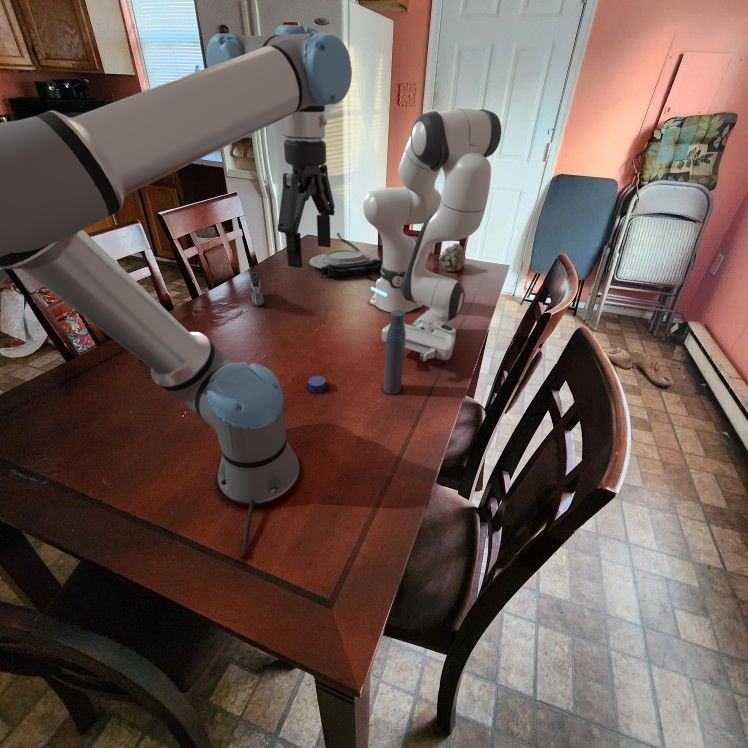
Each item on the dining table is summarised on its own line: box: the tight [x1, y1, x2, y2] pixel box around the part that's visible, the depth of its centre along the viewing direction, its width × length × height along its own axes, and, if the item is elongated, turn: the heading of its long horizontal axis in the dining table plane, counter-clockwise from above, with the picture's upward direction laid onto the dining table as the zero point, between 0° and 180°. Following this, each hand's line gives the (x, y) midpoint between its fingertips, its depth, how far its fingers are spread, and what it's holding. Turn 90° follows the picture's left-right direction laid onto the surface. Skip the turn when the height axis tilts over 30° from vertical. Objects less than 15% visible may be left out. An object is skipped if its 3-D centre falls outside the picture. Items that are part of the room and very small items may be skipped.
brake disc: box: [309, 249, 383, 278], centre depth 176 cm, size 32×30×5 cm
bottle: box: [382, 310, 406, 395], centre depth 100 cm, size 4×4×22 cm
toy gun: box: [249, 271, 264, 307], centre depth 140 cm, size 4×19×10 cm
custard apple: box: [438, 243, 466, 273], centre depth 178 cm, size 11×11×15 cm
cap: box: [307, 375, 327, 394], centre depth 105 cm, size 4×4×2 cm
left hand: (310, 255), depth 86 cm, fingers open, 13 cm apart
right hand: (405, 353), depth 108 cm, fingers open, 8 cm apart
